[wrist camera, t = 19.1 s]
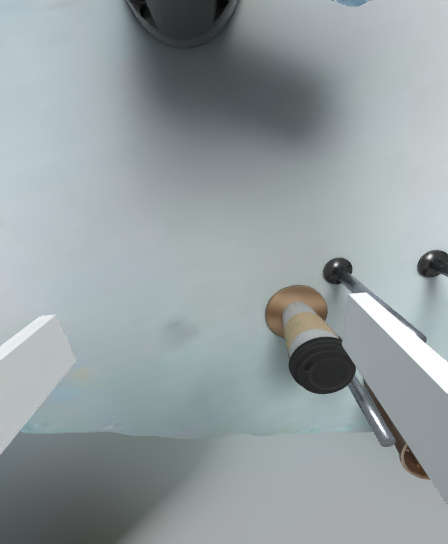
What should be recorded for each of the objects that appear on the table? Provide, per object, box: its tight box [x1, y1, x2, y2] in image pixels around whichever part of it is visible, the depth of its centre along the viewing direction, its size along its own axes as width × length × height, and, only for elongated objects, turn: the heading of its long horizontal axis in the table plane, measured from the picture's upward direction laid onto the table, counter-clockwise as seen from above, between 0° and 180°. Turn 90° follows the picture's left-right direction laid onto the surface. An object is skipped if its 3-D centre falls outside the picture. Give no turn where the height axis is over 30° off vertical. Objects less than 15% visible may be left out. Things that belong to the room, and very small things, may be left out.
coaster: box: [265, 285, 327, 338], centre depth 47 cm, size 12×12×1 cm
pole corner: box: [323, 258, 426, 343], centre depth 34 cm, size 5×5×20 cm
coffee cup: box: [282, 302, 356, 394], centre depth 39 cm, size 9×9×15 cm
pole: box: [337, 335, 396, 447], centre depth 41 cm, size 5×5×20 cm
